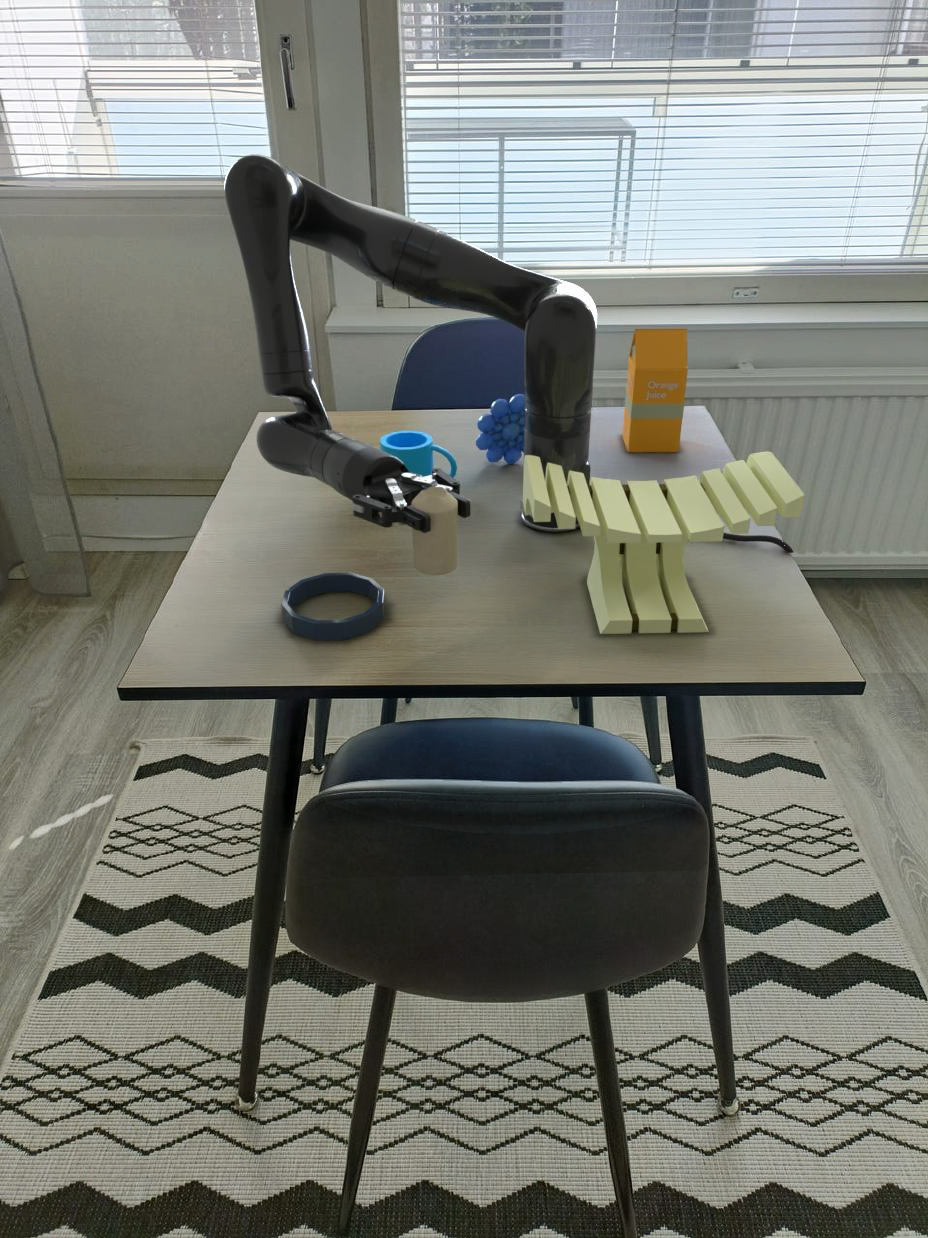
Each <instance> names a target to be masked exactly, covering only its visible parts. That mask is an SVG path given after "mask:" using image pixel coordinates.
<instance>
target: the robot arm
mask: <svg viewBox="0 0 928 1238" xmlns="http://www.w3.org/2000/svg"><path fill="white" fill-rule="evenodd" d="M223 186H224V188H223V194H224V200H225V204H226V208H227V211H228V214H229V219H230V222H231V224H232V228H233V231H234V234H235V238H236V241H237V245H238V248H239V252H240V255H241V260H242V265H243V268H244V273H245V277H246V282H247V286H248V293H249V298H250V303H251V309H252V315H253V323H254V329H255V337H256V346H257V353H258V361H259V368H260V373H261V375H260V376H261V382H262V387H263V390H264V392H265V393H266V395H268V396H270V397H274V398H281V399H289V400H290V402H291V404H292V406H293V407H294V410H295V412H294V413H288V414H281V415H280V414H279V415H276V416H272V417H269V418H266V419H265V420H264V421H263V422H262V423H261V424H260V425H259V427H258V430H257V432H256V446H257V449H258V451H259V453H260V455H261V456H262V458H263V459H264V461H266V463H268V464H269V465H270V466H271V467H273V468H275V469H277V470H280V471H282V472H285V473H289V474H294V475H297V476H298V475H299V476H302V477H309V478H314V479H316V480H318V481H320V483H323V484H325V485H327V486H329V487H330V488H332V489H333V490H335V491H336V492H337V493H338V494H340V495H341V496H343V497H345V498H347V499H348V500H350V501H352V512H353V516H354V517H356V518H359V519H362V520H364V521H367V522H369V523H372V524H375V525H377V526H379V527H383V528H391V527H393V524H394V523H395V524H398V525H400V526H408V527H409V528H411V529H412V528H413V529H415V530H418V531H421V532H423V533H427V532H429V531H431V518H430V516H429V515H428V514H426V513H424V512H422V511H421V510H419V509H417V508H415V507H413V506H412V501H413V499H414V498H415V497H416V496H417V495H418V494H419V493H420V492H421V491H422V490H425V487H426V488H427V489H428V488H429V487H443V488H444V489H445V490H446V491H447V492H448V493H450V494H451V495H452V496H453V497H454V498H455V499H456V500H457V502H458V517H461V518H463V519H467V518H469V517H471V500H470V499H468V498H466V497H465V496H462V495H461V482H460V481H459V480H457V479H456V478H455V477H454V478H453V477H451V476H450V475H449V474H448V473H447V472H446V471H444V470H443V469H441V468H438V467H437V468H436V467H433V469H432V475H429V476H425V477H423V476H422V475H420V474H415V473H411V472H409V471H408V469H407V468H406V466H405V465H404V464H403V462H402V461H401V460H400V459H398V458H397V457H395V456H393V455H391V454H389V453H386V452H384V451H382V450H381V448H378V447H376V446H373V445H371V444H369V443H368V442H365V441H361V440H357V439H354V438H352V437H350V436H348V435H346V434H344V433H342V432H339V431H337V430H333V427H332V424H331V421H330V419H329V416H328V413H327V411H326V409H325V407H324V404H323V400H322V398H321V395H320V392H319V390H318V388H317V384H316V382H315V378H314V371H313V362H312V352H311V345H310V339H309V338H310V337H309V333H308V328H307V327H308V326H307V322H306V319H305V315H304V311H303V308H302V304H301V301H300V298H299V297H300V296H299V294H298V291H297V286H296V282H295V281H296V280H295V277H294V272H293V265H292V257H291V241H293V242H296V243H300V244H301V245H306V246H309V247H312V248H315V249H318V250H320V251H323V252H325V253H328V254H329V255H331V256H333V257H335V258H337V259H339V260H341V261H342V262H344V263H345V264H347V265H348V266H350V267H352V268H353V269H354V270H356V271H358V272H359V273H361V274H362V275H364V276H366V277H367V278H369V279H371V280H373V281H375V282H376V283H379V284H381V285H383V286H385V287H387V288H389V289H391V290H393V291H395V292H398V293H401V294H403V295H405V296H408V297H410V298H413V299H415V300H417V301H421V302H424V303H426V304H429V305H433V306H437V307H440V308H447V309H453V310H461V311H467V312H472V313H479V314H482V315H487V316H490V317H493V318H495V319H498V320H500V321H503V322H504V323H506V324H508V325H511V326H512V327H515V328H516V329H518V330H520V331H522V332H524V361H523V362H524V364H523V365H524V367H523V368H524V369H523V371H524V376H523V377H524V378H523V388H524V389H523V390H524V395H525V432H524V453H523V460H524V459H525V455H533V456H537V457H540V461H541V465H542V469H543V474H544V478H546V467H547V463H552V464H556V465H560V466H562V469H563V473H564V477H565V480H566V484H567V482H568V474H569V470H570V471H575V472H580V473H583V474H584V477H585V480H586V483H587V485H590V480H591V464H590V461H589V453H590V437H591V423H592V422H591V421H592V405H593V392H594V370H595V357H596V342H597V341H596V339H597V326H598V312H597V307H596V304H595V302H594V300H593V299H592V297H591V295H590V294H589V293H588V292H587V291H585V290H584V289H583V288H582V287H580V286H578V285H576V284H574V283H571V282H568V281H564V280H561V279H558V278H554V277H551V276H547V275H544V274H541V273H538V272H534V271H532V270H528V269H525V268H522V267H519V266H516V265H514V264H511V263H508V262H506V261H504V260H502V259H500V258H498V257H496V256H494V255H492V254H491V253H488V252H486V251H484V249H483V250H482V249H481V248H479V247H477V246H475V245H473V244H471V243H468V242H466V241H464V240H462V239H460V238H458V237H456V236H453V235H451V234H449V233H447V232H445V231H443V230H442V229H439V228H436V227H434V226H431V225H430V224H427V223H424V222H422V221H420V220H417V219H415V218H412V217H409V216H408V215H407V216H406V215H404V214H401V213H398V212H395V211H392V210H388V209H385V208H381V207H377V206H374V205H369V204H365V203H362V202H357V201H354V200H351V199H348V198H345V197H344V196H342V195H340V194H336V193H334V192H333V191H331V190H329V189H327V188H326V187H323V186H322V185H319V184H318V183H316V182H314V181H312V180H310V179H309V178H308V177H305V176H304V175H302V174H300V173H299V172H297V171H296V170H294V169H292V168H291V167H290V166H288V165H287V164H285V163H283V162H281V161H279V160H277V159H275V158H273V157H270V156H268V155H264V154H260V153H259V154H258V153H254V154H249V155H244V156H243V157H241V158H239V159H237V160H236V161H235V162H233V164H232V165H231V166H230V167H229V169H228V172H227V173H226V176H225V180H224V185H223ZM519 502H520V503H519V505H520V506H519V509H521V510H522V512H521V521H522V523H524V525H526V526H527V527H528V528H531V529H533V530H536V531H540V532H545V533H565V532H571V531H574V530H577V529H579V528H580V525H579V522H578V519H577V517H576V516H575V517H576V522H575V529H558V525H557V521H556V517H555V514H554V513H551V521H550V522H534V521H533V516H532V514H530V515H526V516H525V512H524V506H523V500H520V501H519ZM380 513H381V515H380ZM723 540H728V541H733V542H746V543H749V542H751V543H753V542H765V543H771V544H775V545H777V546H778V547H780V548H781V549H782V550H784V552H786V553H789V554H793V553H794V550H793V548H792V547H791V546H790V545H789V544H788V543H787V542H786V541H784V540H782V539H780V538H778V537H776V536H772V535H765V534H763V535H762V534H756V535H754V534H751V535H749V534H731V533H728V532H724V533H723ZM782 541H783V542H782ZM784 545H785V546H784Z"/></svg>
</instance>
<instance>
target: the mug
mask: <svg viewBox="0 0 928 1238" xmlns="http://www.w3.org/2000/svg"><path fill="white" fill-rule="evenodd" d="M433 439H434V438H433V437H432V436H431V434H428V432H427V433H426V432H423V431H418V430H399V431H394V432H389V433H387V434H385V435H383V436H382V437H380V441H379V445H380V446H379V447H380V448H379V449H380V450H382V451H384V452H386V453H389V454H391V455H393V456H395V457H397V458H398V459H400V460H401V461H402V462H403V464H404V465H405V466H406V468H407V469H408V471H409V472H411V473H415V474H420V475H422V476H423V477H425V476H429V475H432V469H434V451H435V452H436V453H439V454H441V455H442V456H444V457H445V458H446V459H447V461H448V463H449V465H450V472H449V474H448V475H450V476H451V477H453V478H454V479H455V477H456V475H457V471H458V465H457V460H456V459H455V457H454V456H453V454H452V453H451V452H449V451H448V450H447V449H445V448H444V447H441V446H439V445H435V444H434V442H433V441H434V440H433ZM425 490H427V488H426V487H425Z"/></svg>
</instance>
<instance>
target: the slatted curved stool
mask: <svg viewBox="0 0 928 1238" xmlns="http://www.w3.org/2000/svg"><path fill="white" fill-rule="evenodd" d="M699 476H700V477H699V479H698V477H697V475H690V476H689V475H688V476H682V477H675V478H674V477H673V478H666V479H665V478H664V479H663V482H662V483H659V482H658V481H657V479H654V480H653V479H652V480H626V484H622V481H621V480H620V479H611V478H602V477H596V476H595V477H594V476H590V484H589V485H587V483H586V480H585V477H584V474H583V473H580V472H575V471H570V470H569V474H568V482H567V484H566V480H565V477H564V473H563V469H562V466H560V465H556V464H552V463H547V467H546V478H544V474H543V469H542V465H541V461H540V457H537V456H533V455H525V459H524V458H523V476H522V477H523V478H522V479H523V481H522V502H523V506H524V512H525V516H526V515H530V514H532V516H533V521H534V522H550V521H551V513H554V514H555V517H556V521H557V525H558V529H574V530H576V529H575V522H576V517H577V519H578V522H579V525H580V527H579V528H580V532H581V534H582V537H593V539H594V550H593V557H592V560H591V564H590V568H589V571H588V574H587V579H586V585H587V588H588V592H589V596H590V597H589V598H590V600H591V604H592V605H591V606H592V608H593V612H594V615H595V620H596V624H597V627H598V631H599V634H600V635H610V634H611V635H614V634H615V635H616V634H617V635H619V634H620V635H621V634H625V635H627V634H632V631H638V634H668V633H669V634H670V633H671V631H672V630H673V631H674V630H676V631H677V633H683V634H685V633H687V634H688V633H710V631H709V628H708V627H707V624H706V622H705V620H704V618H703V615H702V613H701V610H700V609H699V606H698V604H697V602H696V599H695V598H694V595H693V593H692V590H691V588H690V586H689V583H688V580H687V576H686V573H685V569H684V568H685V567H684V553H685V552H684V551H685V548H686V545H687V543H688V542H689V543H698V542H699V543H706V542H710V543H711V542H713V543H717V542H723V540H724V539H723V533H725V526H726V527H727V529H728V530H729V532H730V534H734V535H749V530H750V525H751V519H752V520H753V521H754V523H755V524H756V526H757V527H771V526H772V527H774V526H775V524H776V519H777V512H779V514H780V516H782V518H783V519H801V517H802V512H803V508H804V507H803V506H804V501H805V497H806V496H805V495H806V494H805V493H804V491H803V490H802V489H801V488H800V487H799V485H798V484H797V483H796V481H795V480H794V479H793V478H792V476H791V475H790V474H789V472H788V471H787V470H786V469H785V468H784V466H783V465H782V463H781V462H780V461H779V460H778V458H777V457H776V456H775V455H774V453H773V452H771V451H759V452H753V453H750V454H749V455H748V457H747V459H746V461H745V460H744V459H740V460H734V461H729V462H726V463H725V464H724V466H723V469H722V471H721V469H720V468H719V467H716V468H712V469H708V470H702V471H701V473H700V475H699ZM575 516H576V517H575ZM724 524H725V525H724ZM630 610H631V611H630Z"/></svg>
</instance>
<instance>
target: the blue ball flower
mask: <svg viewBox="0 0 928 1238" xmlns="http://www.w3.org/2000/svg"><path fill="white" fill-rule="evenodd" d="M476 426H477V429H478V430H479V431H480V432H481V433H480V434H478V436H477V438H476V440H475V446H476V447H477V449H479V451H486V453H485V457H486V459H487V461H488V462H489V463H494V464H495V463H498V462H500V461H501V460H502V459H503V460H504V462H506V464H509V465H514V464H516V463H518V462H519V461H520V459H521V457H522V453H523V454H524V432H525V393H524V394H523V393H517V394H515V395H513V396H512V397H511V398H510V400H509V402H508V401H507V399H506V398H498V399H496V400H495V401H493V402H492V404H491V405H490V413H485V414H483V415H481V416H480V417H479V419H478V421H477V425H476Z"/></svg>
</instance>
